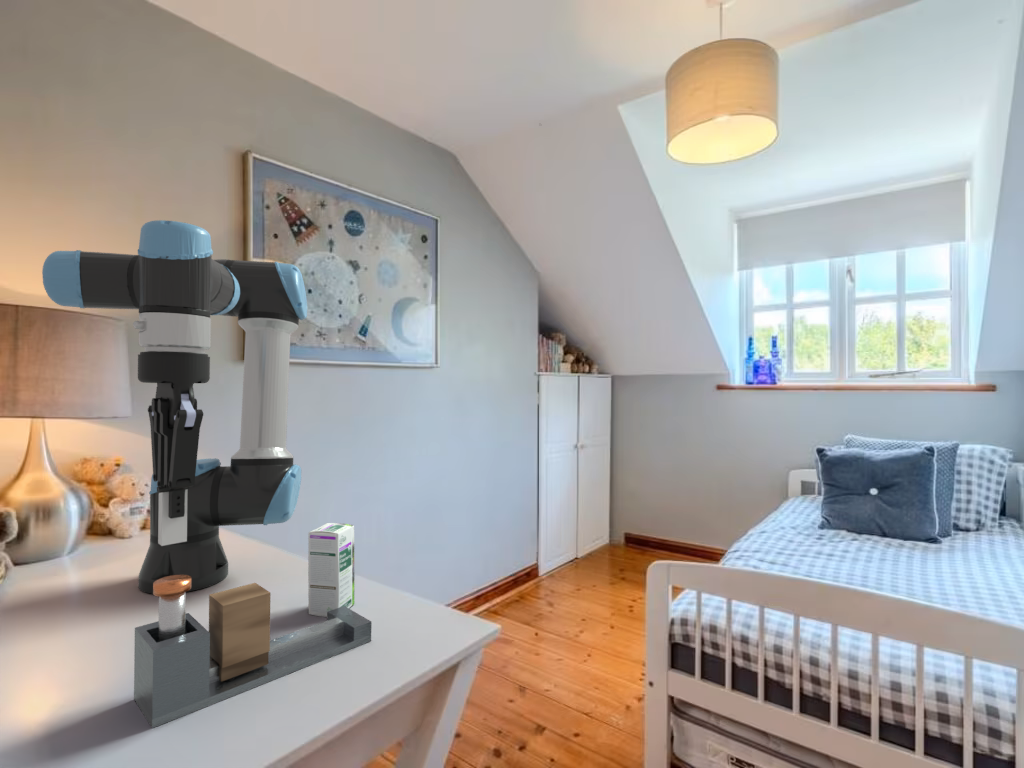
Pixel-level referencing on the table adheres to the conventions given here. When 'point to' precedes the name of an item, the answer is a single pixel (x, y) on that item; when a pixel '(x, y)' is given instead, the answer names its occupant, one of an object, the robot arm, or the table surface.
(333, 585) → the syrup box
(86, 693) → the table surface
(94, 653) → the table surface
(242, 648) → the block
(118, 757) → the table surface
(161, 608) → the plunger
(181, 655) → the rail
